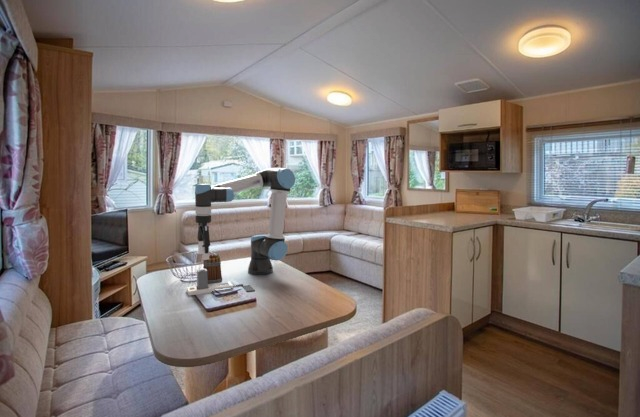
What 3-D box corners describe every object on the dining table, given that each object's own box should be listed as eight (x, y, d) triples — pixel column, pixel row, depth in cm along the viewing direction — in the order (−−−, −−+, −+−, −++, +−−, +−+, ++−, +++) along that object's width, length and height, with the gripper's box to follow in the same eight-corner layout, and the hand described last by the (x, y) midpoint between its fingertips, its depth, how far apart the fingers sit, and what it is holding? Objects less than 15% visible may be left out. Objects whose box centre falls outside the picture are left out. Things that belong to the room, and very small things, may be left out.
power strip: (241, 285, 192) (241, 278, 192) (244, 289, 186) (244, 282, 186) (186, 292, 179) (186, 286, 179) (188, 297, 173) (188, 290, 173)
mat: (249, 285, 192) (249, 284, 192) (254, 291, 184) (254, 289, 184) (233, 288, 188) (233, 287, 187) (237, 293, 180) (237, 292, 180)
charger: (206, 289, 182) (205, 267, 181) (207, 291, 179) (207, 269, 177) (197, 290, 180) (196, 268, 179) (198, 293, 176) (198, 270, 175)
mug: (218, 286, 190) (218, 259, 188) (199, 285, 190) (199, 258, 188) (227, 277, 205) (226, 252, 204) (209, 277, 206) (208, 252, 204)
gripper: (191, 212, 185) (191, 251, 187) (200, 218, 163) (200, 263, 165) (206, 211, 188) (206, 250, 190) (216, 217, 166) (216, 261, 169)
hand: (203, 256), depth 178 cm, fingers open, 13 cm apart
